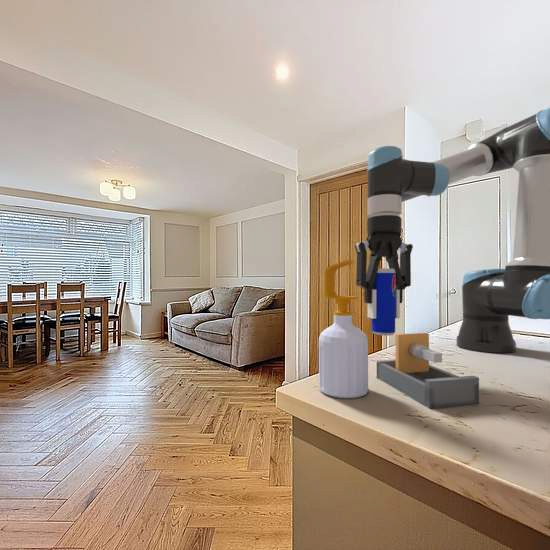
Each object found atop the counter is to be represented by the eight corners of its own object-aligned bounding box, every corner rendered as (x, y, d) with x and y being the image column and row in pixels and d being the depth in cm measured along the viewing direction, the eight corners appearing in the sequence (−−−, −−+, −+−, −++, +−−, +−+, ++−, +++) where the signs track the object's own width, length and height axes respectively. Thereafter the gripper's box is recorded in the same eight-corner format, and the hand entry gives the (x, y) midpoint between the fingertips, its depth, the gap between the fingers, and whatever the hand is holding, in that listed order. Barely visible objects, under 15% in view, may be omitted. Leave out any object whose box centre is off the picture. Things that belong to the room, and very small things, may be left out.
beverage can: (396, 336, 74) (397, 268, 74) (372, 335, 75) (373, 268, 75) (393, 332, 79) (393, 269, 79) (370, 331, 80) (371, 268, 80)
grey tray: (416, 374, 73) (416, 354, 73) (479, 403, 56) (479, 377, 56) (376, 377, 71) (376, 356, 71) (429, 408, 54) (429, 381, 54)
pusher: (425, 369, 68) (425, 332, 68) (454, 382, 60) (454, 340, 60) (395, 371, 66) (395, 334, 66) (421, 384, 59) (421, 342, 59)
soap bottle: (359, 403, 57) (358, 258, 57) (310, 393, 62) (310, 260, 62) (374, 388, 64) (373, 260, 64) (329, 380, 69) (329, 261, 69)
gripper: (409, 221, 82) (408, 315, 82) (340, 217, 79) (339, 316, 79) (429, 215, 75) (428, 319, 75) (354, 211, 71) (353, 320, 71)
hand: (383, 317), depth 77 cm, fingers closed on beverage can, 5 cm apart
